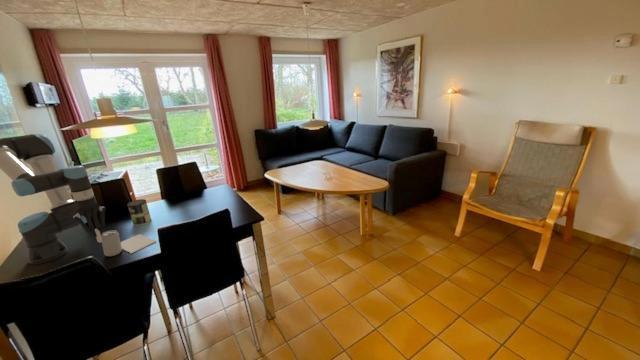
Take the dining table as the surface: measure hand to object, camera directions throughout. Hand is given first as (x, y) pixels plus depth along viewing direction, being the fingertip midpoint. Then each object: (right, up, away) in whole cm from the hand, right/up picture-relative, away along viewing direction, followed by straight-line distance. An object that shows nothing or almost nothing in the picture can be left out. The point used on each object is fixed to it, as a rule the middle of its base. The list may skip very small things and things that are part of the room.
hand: (100, 241), depth 135 cm
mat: (+8, -5, +15) cm, 17 cm away
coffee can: (-6, +3, +41) cm, 42 cm away
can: (+2, -8, +6) cm, 10 cm away
